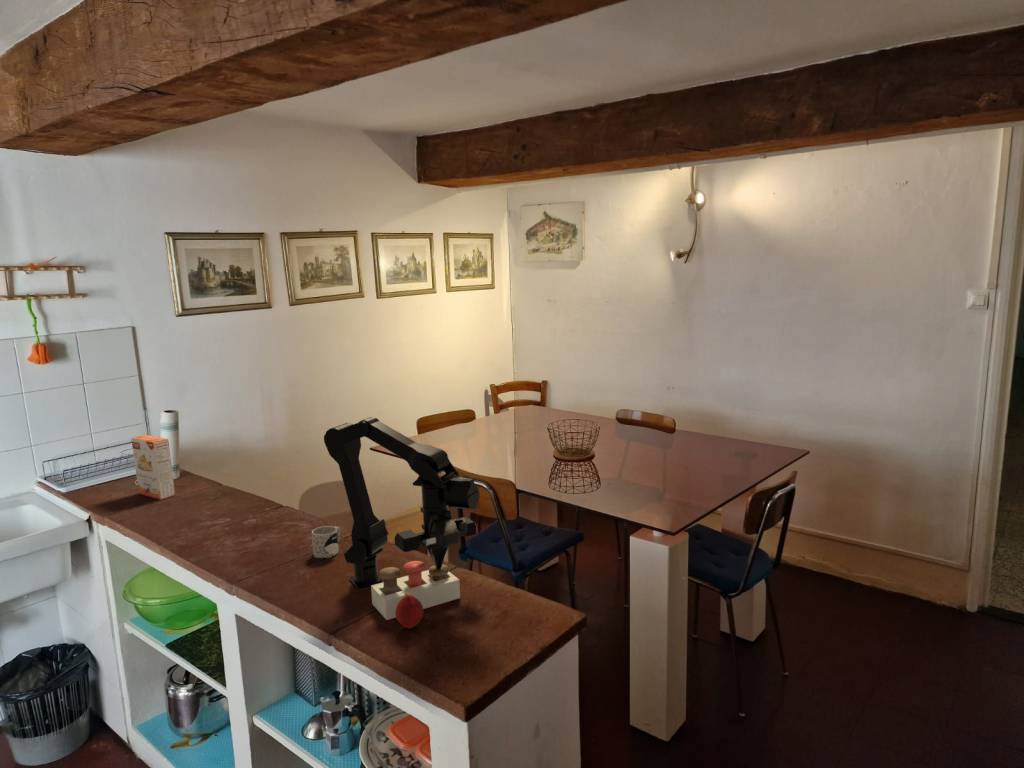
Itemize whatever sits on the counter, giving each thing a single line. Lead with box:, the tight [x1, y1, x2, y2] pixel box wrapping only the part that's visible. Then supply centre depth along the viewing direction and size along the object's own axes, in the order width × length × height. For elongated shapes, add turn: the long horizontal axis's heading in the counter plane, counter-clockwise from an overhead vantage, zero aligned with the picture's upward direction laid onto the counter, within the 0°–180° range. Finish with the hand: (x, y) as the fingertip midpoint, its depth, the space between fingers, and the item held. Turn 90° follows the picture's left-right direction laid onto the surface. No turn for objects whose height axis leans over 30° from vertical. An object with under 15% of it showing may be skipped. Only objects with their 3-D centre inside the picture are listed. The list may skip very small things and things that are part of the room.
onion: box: [395, 593, 424, 630], centre depth 148 cm, size 6×6×8 cm
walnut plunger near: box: [378, 566, 401, 596], centre depth 156 cm, size 5×5×6 cm
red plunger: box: [403, 560, 426, 588], centre depth 159 cm, size 5×5×6 cm
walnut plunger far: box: [428, 564, 450, 581], centre depth 163 cm, size 5×5×6 cm
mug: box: [311, 525, 341, 560], centre depth 190 cm, size 10×7×7 cm, turn 161°
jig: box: [370, 569, 461, 621], centre depth 160 cm, size 9×18×4 cm, turn 121°
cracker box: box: [130, 434, 176, 501], centre depth 245 cm, size 14×6×21 cm, turn 57°
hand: (438, 568), depth 162 cm, fingers closed, pressing on walnut plunger far
